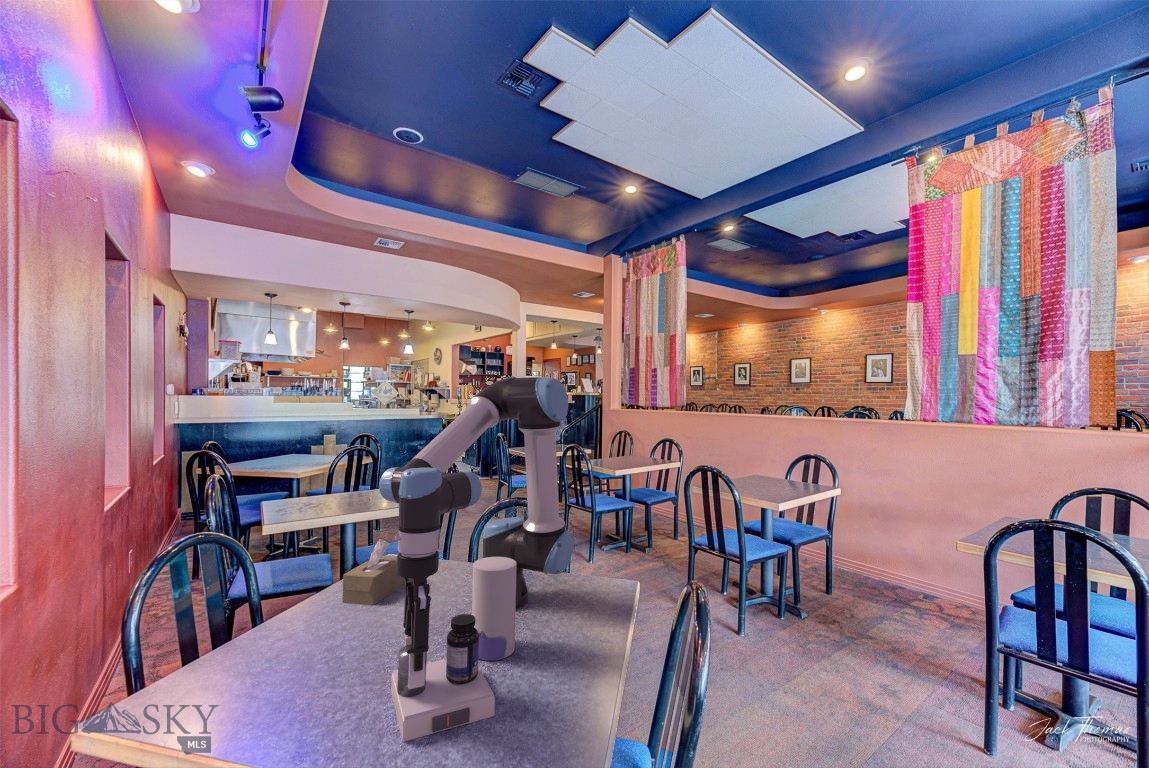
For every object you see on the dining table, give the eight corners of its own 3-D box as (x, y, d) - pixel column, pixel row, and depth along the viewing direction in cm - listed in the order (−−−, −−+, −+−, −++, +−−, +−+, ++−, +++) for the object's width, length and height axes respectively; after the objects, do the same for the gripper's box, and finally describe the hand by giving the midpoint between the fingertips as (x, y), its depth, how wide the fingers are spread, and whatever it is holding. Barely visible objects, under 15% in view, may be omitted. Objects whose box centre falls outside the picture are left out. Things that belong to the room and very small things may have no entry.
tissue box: (373, 606, 136) (374, 549, 136) (341, 603, 137) (343, 546, 138) (406, 582, 154) (408, 531, 155) (378, 579, 156) (379, 529, 156)
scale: (471, 672, 104) (471, 652, 104) (495, 718, 89) (496, 695, 89) (391, 691, 96) (391, 670, 96) (403, 744, 81) (404, 720, 81)
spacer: (422, 679, 94) (424, 641, 94) (427, 692, 89) (429, 653, 90) (395, 685, 91) (397, 646, 92) (399, 699, 87) (400, 659, 87)
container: (521, 644, 116) (523, 558, 117) (502, 665, 107) (504, 572, 107) (484, 636, 119) (486, 553, 120) (462, 656, 110) (464, 566, 111)
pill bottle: (467, 664, 99) (468, 609, 100) (484, 676, 95) (485, 619, 95) (439, 676, 95) (441, 618, 95) (456, 689, 90) (458, 629, 91)
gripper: (391, 541, 98) (386, 660, 97) (404, 569, 82) (398, 711, 81) (429, 537, 101) (425, 652, 100) (449, 563, 85) (444, 700, 84)
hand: (413, 678), depth 91 cm, fingers closed on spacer, 5 cm apart
